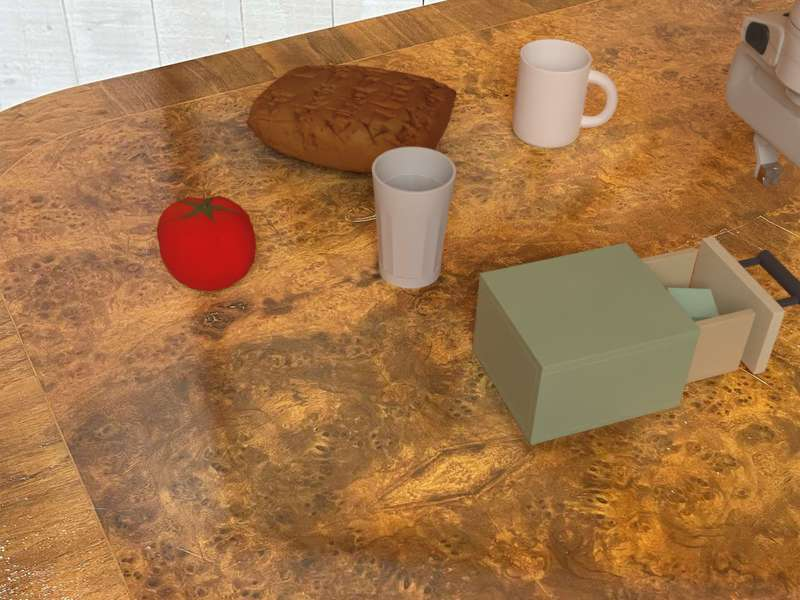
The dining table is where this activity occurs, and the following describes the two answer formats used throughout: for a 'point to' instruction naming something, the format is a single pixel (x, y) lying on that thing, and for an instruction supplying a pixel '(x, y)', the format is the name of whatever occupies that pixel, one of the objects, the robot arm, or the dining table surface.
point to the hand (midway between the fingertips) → (790, 204)
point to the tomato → (206, 242)
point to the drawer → (729, 305)
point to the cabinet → (582, 341)
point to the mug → (556, 93)
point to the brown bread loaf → (350, 114)
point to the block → (695, 302)
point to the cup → (412, 213)
